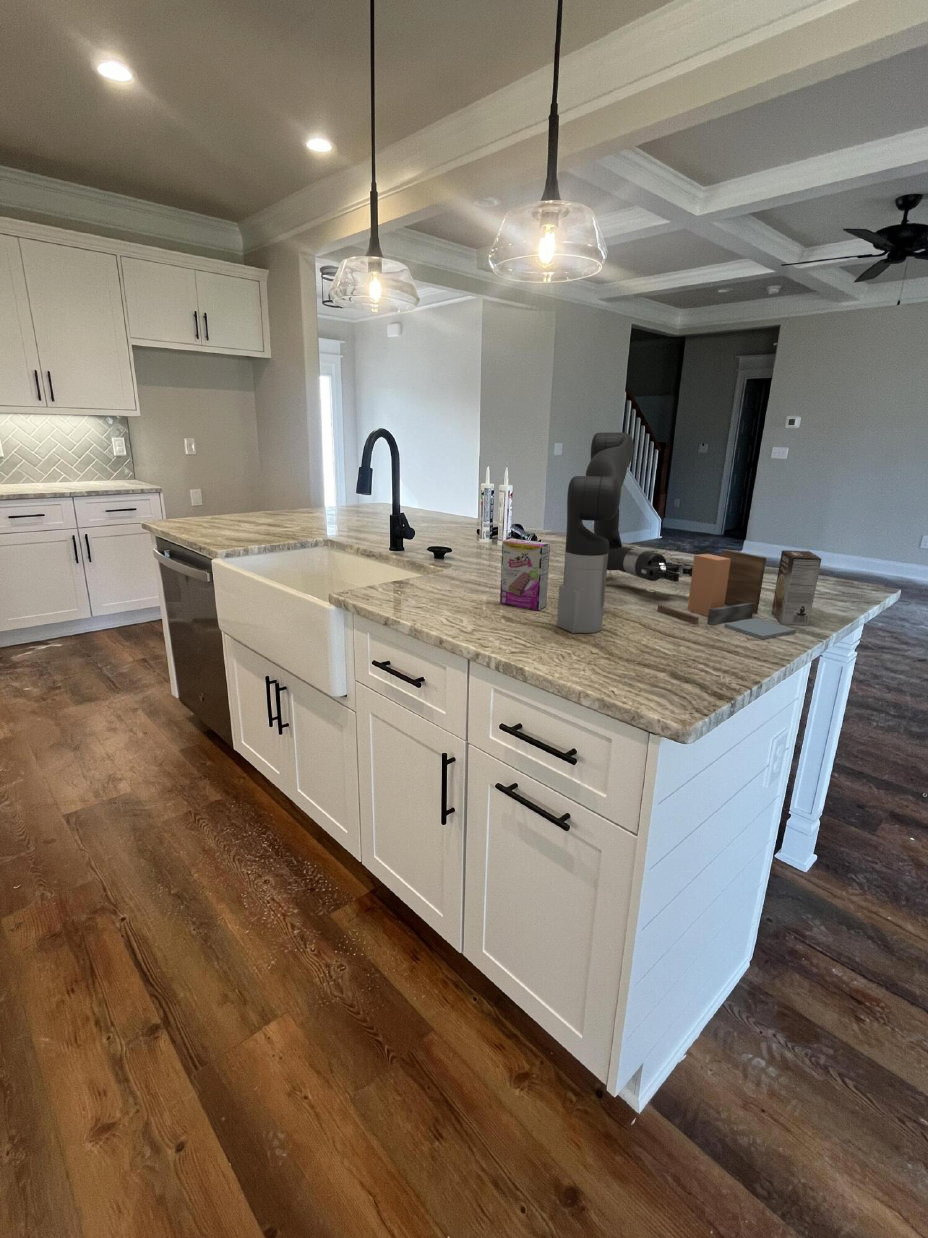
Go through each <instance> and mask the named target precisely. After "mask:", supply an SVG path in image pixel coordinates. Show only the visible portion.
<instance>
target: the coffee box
mask: <svg viewBox="0 0 928 1238" xmlns="http://www.w3.org/2000/svg"><path fill="white" fill-rule="evenodd" d="M821 563H822V558H821V557H820V556H818V555H816V554H814V553H813V552H811V551H810V550H807V551H806V550H788V549H787V550H784V549H783V550H781V554H780V560H779V565H778V571H777V576H776V577H777V578H776V584H775V589H774V596H773V601H772V607H771V615H772V616H773V617H774V618H775V619H776V620H777V621H778V622H779V623H780V625H791V624H794V625H793V626H807V627H808V626H809V625H810V619H811V615H812V609H813V604H814V599H815V594H816V590H817V583H818V578H819V575H820V574H819V573H820V568H821V565H822V564H821Z"/></svg>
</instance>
